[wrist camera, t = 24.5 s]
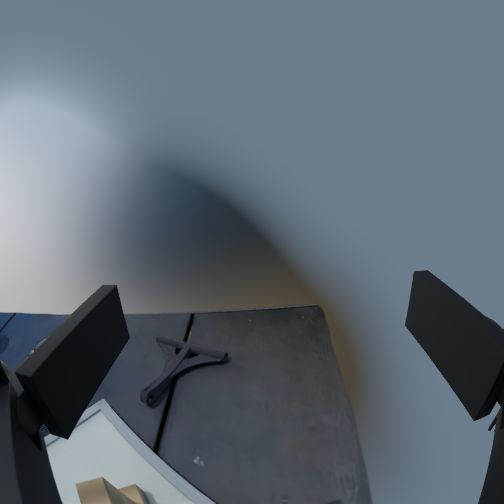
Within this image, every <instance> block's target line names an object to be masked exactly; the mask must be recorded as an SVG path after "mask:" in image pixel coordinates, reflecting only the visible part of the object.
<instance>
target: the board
mask: <svg viewBox="0 0 504 504" xmlns="http://www.w3.org/2000/svg"><path fill="white" fill-rule="evenodd" d="M44 439H45V444H46V448H47V452H48V456H49V460H50V464H51V468H52V472H53V475H54V479H55V482H56V485H57V488H58V491H59V494H60V497H61V500H62V503H63V504H81V503H80V499H79V496H78V492H77V488H76V483H80V482H84V481H88V480H92V479H96V478H99V477H103V478H104V479H106V480H107V481H108V482H109V483H110V484H112V485H113V486H114V487H116V488H117V489H120V488H123V487H126V486H130V485H133V484H136V485H137V486H138V487H140V488H141V489H142V490H143V491H144V493H145V496H146V498H147V500H148V502H149V504H216V503H214V502H213V501H212V500H210V499H209V498H207V497H206V496H205V495H203V494H202V493H201V492H200V491H198V490H197V489H196V488H194V487H193V486H192V485H191V484H189V483H188V482H187V481H186V480H184V479H183V478H182V477H181V476H180V475H178V474H177V473H176V472H175V471H174V470H173V469H172V468H170V467H169V466H168V465H167V464H166V463H165V462H164V461H163V460H161V459H160V458H159V457H158V456H157V455H156V454H155V453H154V452H153V451H152V450H151V449H150V448H149V447H148V446H147V445H146V444H145V443H144V442H143V441H142V440H141V439H140V438H139V437H138V436H137V435H136V434H135V433H134V432H133V431H132V430H131V429H130V428H129V427H128V426H127V425H126V424H125V423H124V422H123V421H122V420H121V418H120V417H119V416H118V415H117V414H116V413H115V412H114V411H113V409H112V408H111V407H110V406H109V405H108V404H107V403H106V401H105V400H104V399H101V400H100V401H99V402H97V403H96V404H94V405H93V406H91V407H90V408H88V409H87V410H85V411H84V413H83V414H82V416H81V418H80V420H79V421H78V423H77V425H76V427H75V428H74V430H73V432H72V434H71V435H70V437H69V439H68V440H67V439H64V438H61V437H58V436H55V435H52V434H49V435H48V436H46V437H44Z"/></svg>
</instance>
